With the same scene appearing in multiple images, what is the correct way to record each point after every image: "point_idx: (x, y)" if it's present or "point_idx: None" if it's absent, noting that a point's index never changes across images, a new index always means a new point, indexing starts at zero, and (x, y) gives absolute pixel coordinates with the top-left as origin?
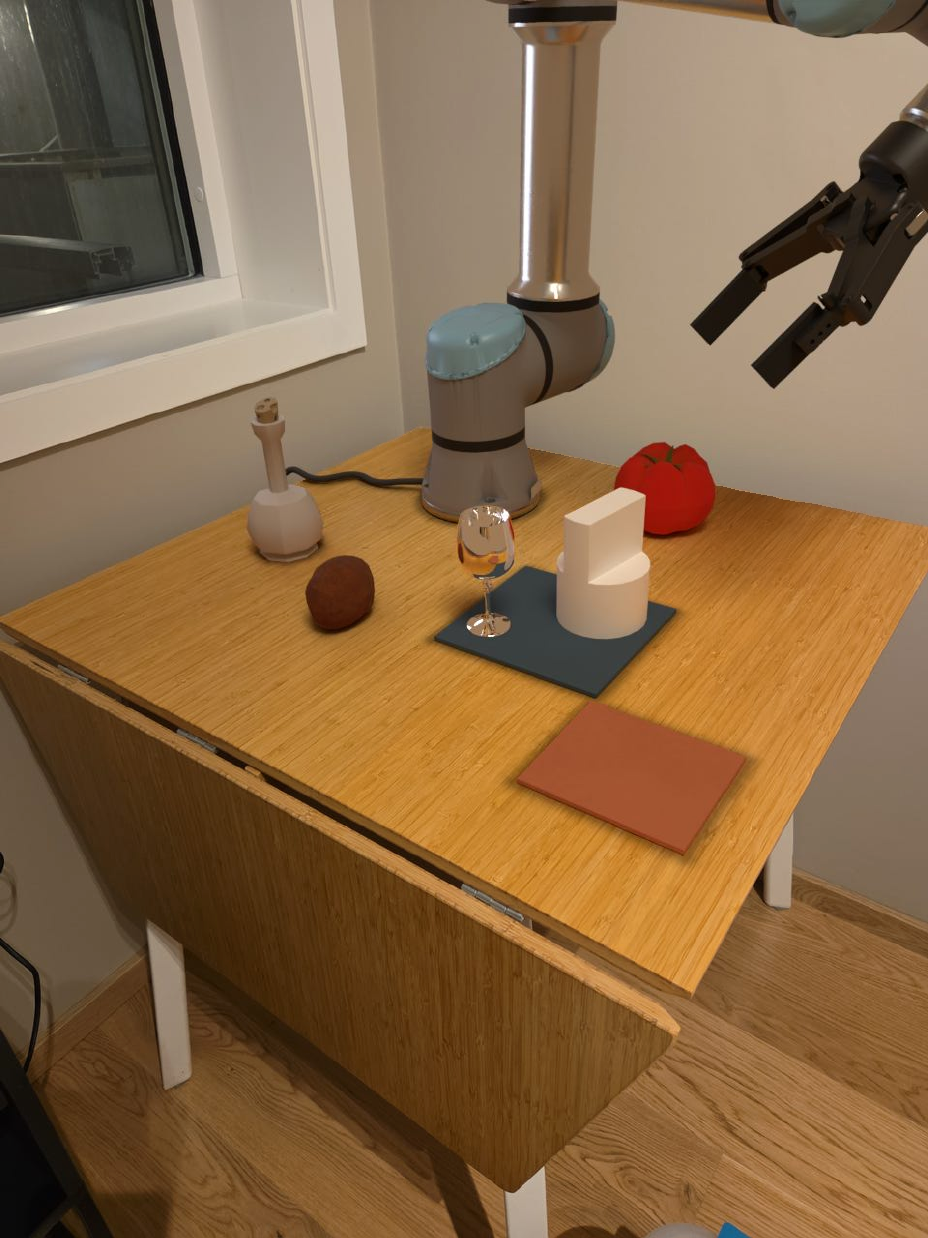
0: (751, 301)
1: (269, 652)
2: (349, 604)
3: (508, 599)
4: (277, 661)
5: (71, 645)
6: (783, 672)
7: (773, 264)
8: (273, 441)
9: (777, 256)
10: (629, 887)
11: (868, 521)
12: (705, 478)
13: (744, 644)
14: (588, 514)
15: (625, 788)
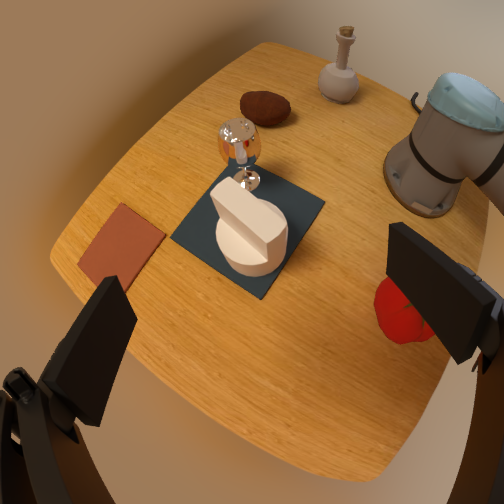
0: (441, 338)
1: (233, 100)
2: (247, 112)
3: (277, 190)
4: (225, 104)
5: (246, 55)
6: (185, 353)
7: (489, 385)
8: (340, 44)
9: (495, 396)
10: (72, 243)
11: (388, 456)
12: (402, 332)
13: (217, 338)
14: (229, 193)
15: (106, 245)
